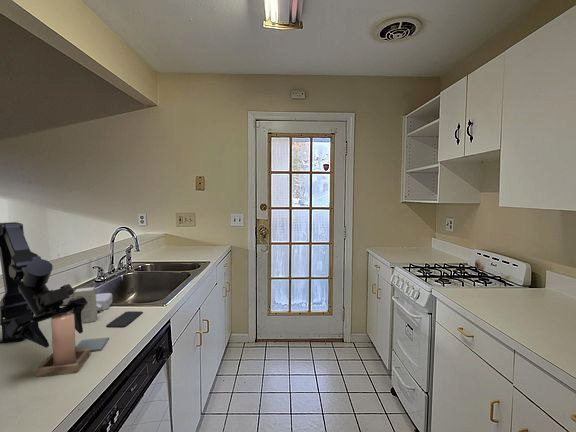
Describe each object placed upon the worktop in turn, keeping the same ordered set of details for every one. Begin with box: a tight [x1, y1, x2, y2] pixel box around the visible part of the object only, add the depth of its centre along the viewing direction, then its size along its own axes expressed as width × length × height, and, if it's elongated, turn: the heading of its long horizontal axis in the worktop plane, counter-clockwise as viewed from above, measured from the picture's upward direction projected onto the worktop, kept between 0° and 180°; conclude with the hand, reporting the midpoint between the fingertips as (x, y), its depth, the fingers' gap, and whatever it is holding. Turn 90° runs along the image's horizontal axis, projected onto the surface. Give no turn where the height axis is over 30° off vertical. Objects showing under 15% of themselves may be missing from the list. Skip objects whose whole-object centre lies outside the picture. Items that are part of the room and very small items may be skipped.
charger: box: [96, 292, 113, 312], centre depth 131 cm, size 5×9×15 cm
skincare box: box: [73, 286, 98, 324], centre depth 119 cm, size 6×4×12 cm
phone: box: [105, 310, 144, 329], centre depth 121 cm, size 7×1×15 cm
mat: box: [75, 337, 110, 353], centre depth 100 cm, size 8×8×1 cm
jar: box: [50, 313, 77, 366], centre depth 88 cm, size 5×5×14 cm
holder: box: [35, 349, 91, 378], centre depth 88 cm, size 10×10×2 cm
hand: (65, 339), depth 87 cm, fingers open, 9 cm apart
